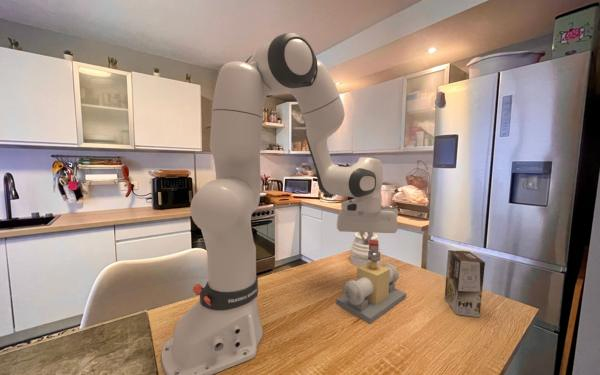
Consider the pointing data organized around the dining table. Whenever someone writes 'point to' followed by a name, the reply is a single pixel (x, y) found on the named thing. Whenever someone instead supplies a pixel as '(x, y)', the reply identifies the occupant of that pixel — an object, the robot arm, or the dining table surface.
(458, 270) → the coffee box
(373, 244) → the lever
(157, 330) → the dining table surface
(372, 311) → the valve
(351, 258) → the honey pot
